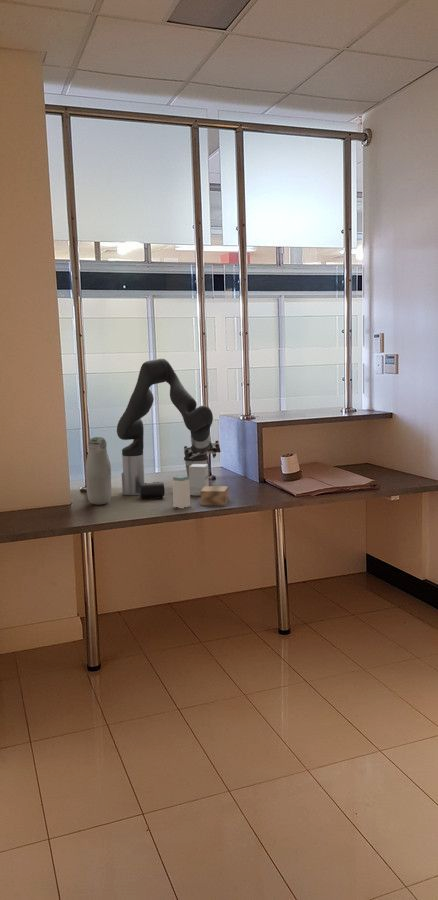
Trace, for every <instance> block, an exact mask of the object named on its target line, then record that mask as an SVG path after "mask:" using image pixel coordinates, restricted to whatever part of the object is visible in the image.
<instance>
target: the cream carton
mask: <svg viewBox="0 0 438 900" xmlns="http://www.w3.org/2000/svg"><path fill="white" fill-rule="evenodd" d="M172 502H173V503H172V505H173V508H176V507H178V508H177V509H185V508H184V507H186V508H189V507H191V495H190V483H189V476H187V475H180V474H179V475H176V476H173V477H172ZM188 506H189V507H188Z"/></svg>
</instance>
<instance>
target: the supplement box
mask: <svg viewBox="0 0 438 900" xmlns="http://www.w3.org/2000/svg"><path fill="white" fill-rule="evenodd" d="M209 480H210V478H209V464H208V463H207V464H192V465H191V466H190V467H189V483H190V496H201V490H202V489H203V487H204V486H209V484H210V482H209Z"/></svg>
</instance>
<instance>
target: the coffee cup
mask: <svg viewBox="0 0 438 900" xmlns="http://www.w3.org/2000/svg"><path fill="white" fill-rule="evenodd" d="M193 459H194V462H192V461H190V458H189V457H188V458H185V456H184V457H183V460H184V463H185V469H186V476H189V467H190V466H191V465H192V464H208V460H209V456H208V455H207V453H201V454H198V455H197V456H196V457H195V456H194V457H193Z"/></svg>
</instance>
